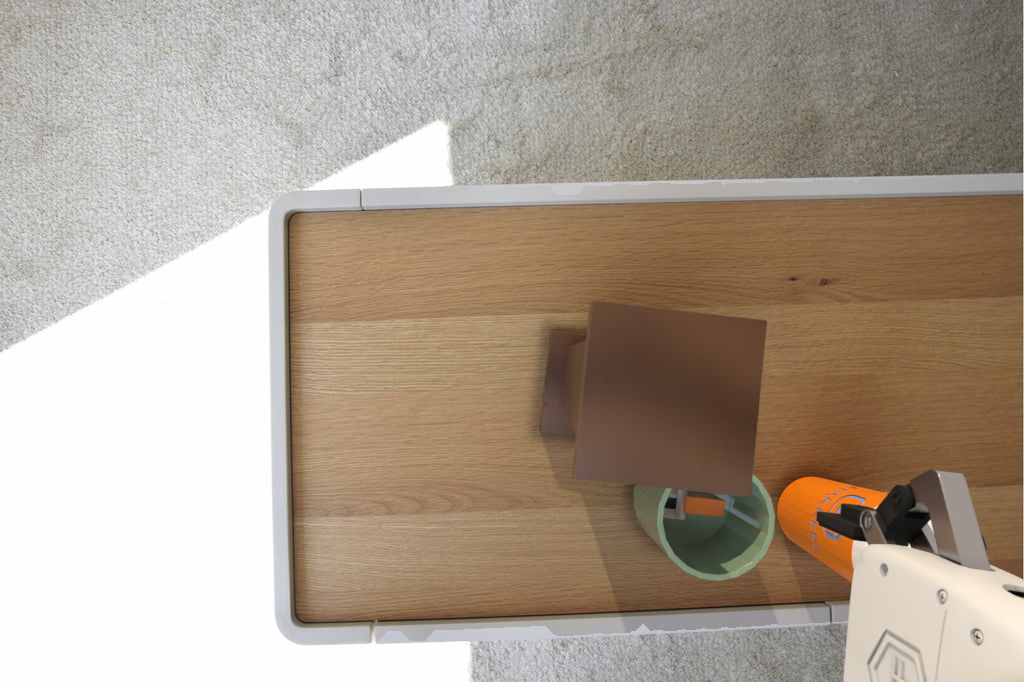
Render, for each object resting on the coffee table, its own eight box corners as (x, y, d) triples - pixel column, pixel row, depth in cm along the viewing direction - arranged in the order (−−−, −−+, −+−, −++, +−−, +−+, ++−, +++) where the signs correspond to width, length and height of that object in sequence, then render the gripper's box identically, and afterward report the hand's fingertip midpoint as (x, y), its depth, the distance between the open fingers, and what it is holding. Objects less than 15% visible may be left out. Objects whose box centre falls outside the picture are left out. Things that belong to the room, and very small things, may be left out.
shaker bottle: (868, 489, 66) (1030, 540, 46) (833, 571, 65) (982, 659, 45) (788, 452, 66) (915, 487, 46) (752, 534, 65) (865, 605, 45)
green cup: (727, 553, 65) (769, 586, 55) (628, 542, 65) (651, 573, 55) (736, 453, 66) (780, 467, 56) (638, 442, 66) (663, 454, 56)
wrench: (715, 487, 65) (725, 492, 62) (712, 517, 65) (723, 524, 62) (651, 480, 65) (658, 485, 62) (648, 511, 65) (655, 517, 62)
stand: (638, 442, 66) (750, 497, 37) (539, 430, 65) (573, 477, 36) (648, 342, 66) (767, 320, 37) (550, 331, 66) (592, 299, 37)
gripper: (1034, 497, 20) (782, 443, 37) (994, 1107, 19) (753, 760, 36) (1273, 525, 20) (912, 459, 37) (1247, 1130, 19) (887, 774, 36)
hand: (834, 607), depth 36 cm, fingers open, 9 cm apart
